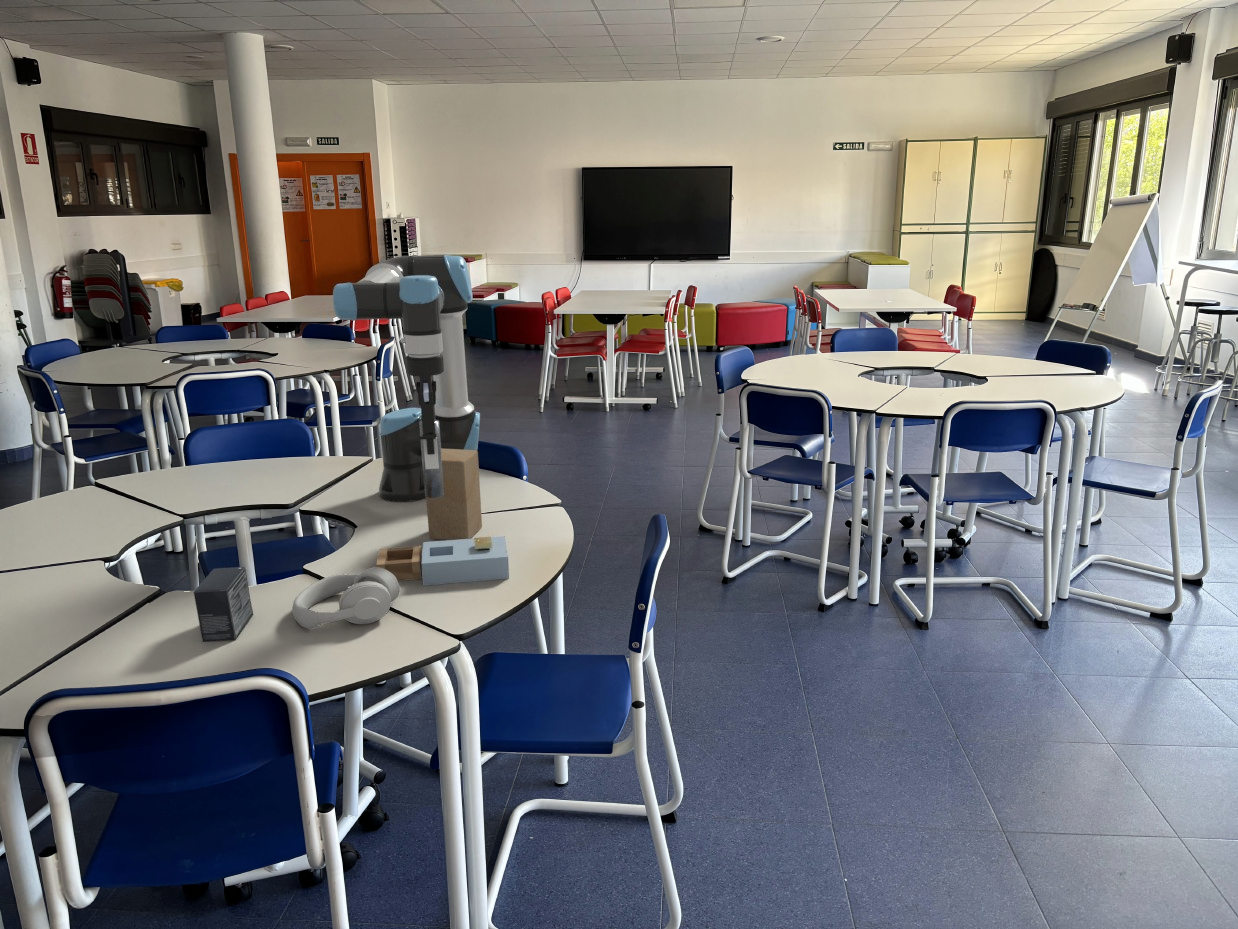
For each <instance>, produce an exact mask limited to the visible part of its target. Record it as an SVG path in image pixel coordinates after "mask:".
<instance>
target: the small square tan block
mask: <svg viewBox="0 0 1238 929" xmlns="http://www.w3.org/2000/svg"><path fill="white" fill-rule="evenodd" d="M491 537H492V536H483V537H482V536H480V537H474V541H475V549H479V551H480V550H488V548H492V542H491Z"/></svg>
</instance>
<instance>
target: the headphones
mask: <svg viewBox="0 0 1238 929" xmlns="http://www.w3.org/2000/svg"><path fill="white" fill-rule="evenodd" d="M400 588H401V587H400V584H399V581H397V579H396V577H395V576H394V575H393V574H392V573H390V572H389V571H387V570H385V569H383V568H379V567H376V566H373V567H369V568H367V569H365V570H363V571H362V572H360V573H352V574H350V573H348V574H345V573H340V574H333V575H329V576H325V577H323V578H322V579H320V580H318V581H316V582H313V583H311V584H310V585H309V586H308V587H306V588H304V589H303V590H302V591H301V592H300V593H298V595H297V596H296V597H295V598H294V600H293V605H292V607H291V608H292V615H293V618H294V619H295V620H296V622H297V623H298V625H300V626H301V627H303V628H305V629H310V630H311V629H316V628H318V627H319V626H321V625H322V624H328V623H333V622H338V621H342V620H346V621H347V622H349V623H352V624H353V625H354V624H355V625H367V624H373V623H375V622H377V621H379V620H381V619H383V617H385V616H386V614H387V613H388V612H389V611H390V608H391V606H392V602H394V601H395V600H396V599H398V597H399V595H400V592H401V589H400ZM340 593H342V594H341V596H340V597H339V601H338V609H339V610H337V611H332V612H331V611H327V612H326V611H325V612H319V611H314V610H311V608H312V607H313V606H315V605H316V604H319V603H320V602H323V600H325V599H329V598H331V597H333V596H336V595H338V594H340Z"/></svg>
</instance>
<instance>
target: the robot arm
mask: <svg viewBox="0 0 1238 929" xmlns="http://www.w3.org/2000/svg"><path fill="white" fill-rule="evenodd" d="M473 299H474V298H473V290H472V283H471V277H470V271H469V268H468V264H467V262H466V259H464V257H462V256H460V255H449V254H434V255H432V254H431V255H430V254H429V255H401V256H396V257H391V258H389V259H386V260H383V261H381V262H378V263H376V264H374V265H373V266H371V267H370V268H369V269H368V270H367V272H366V274H365V276H364V277H363V278H362V279H360V280H359V281H357V282H344V283H337V284H336V285H334V287H333V292H332V302H333V309H334V313H335V317H337V318H338V319H339V320H343V321H345V320H346V321H360V320H402V329H403V330H402V331H403V332H402V334H403V338H401V339H400V343H401V344H404V353H405V354H407V355H406V356H405V358H404V360H405V361H404V362H405V371H406V374H407V375H408V376H410V377H411V376H412V377H418V378H419V381H416V385H415V387H416V393H417V399H418V405H419V406H420V407H408V408H402V409H398V410H394V411H391V412H387V413H385V414H384V415H383V416H382V417H381V418H380V422H379V431H380V432H379V435H380V443H381V454H382V464H383V465H382V466H383V469H382V470H383V471H382V475H381V479H380V483H379V486H378V493H379V494H378V495H379V497H380V498H381V500H384V501H387V502H393V503H395V502H396V503H407V502H408V503H409V502H416V501H421V500H424V499H426V496H425V489H424V476H423V463H422V451H421V439H423V443H424V456H425V469H438V468H439V462H438V448H437V436H436V432H435V419H436V420H439V427H440V441H441V448H442V449H461V450H476V451H478V447H479V446H478V445H479V435H480V422H481V413H480V412H478V411H476V410H475V406H474V404H473V403H472V402H470V401H469V395H468V382H467V381H468V380H467V368H466V367H467V366H466V365H467V364H466V352H465V339H464V326H463V325H464V323H463V314H464V313H466V311H467V310H468V303H471V302H472V301H473ZM420 421H422V427H423V434H422V436H420V425H419V422H420Z"/></svg>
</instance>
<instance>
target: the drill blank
mask: <svg viewBox="0 0 1238 929" xmlns="http://www.w3.org/2000/svg"><path fill="white" fill-rule="evenodd" d="M419 425H420V436H422V434H423V427H422V421H420V422H419ZM435 432H436V436H437V448H438V462H439V468H438V469H425V456H424V443H423V439H421V451H422V463H423V476H424V489H425V496H426V497H428V498H438V497H441V496H443V495H444V483H443V469H442V455H441V441H440V427H439V420H436V419H435Z"/></svg>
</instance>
